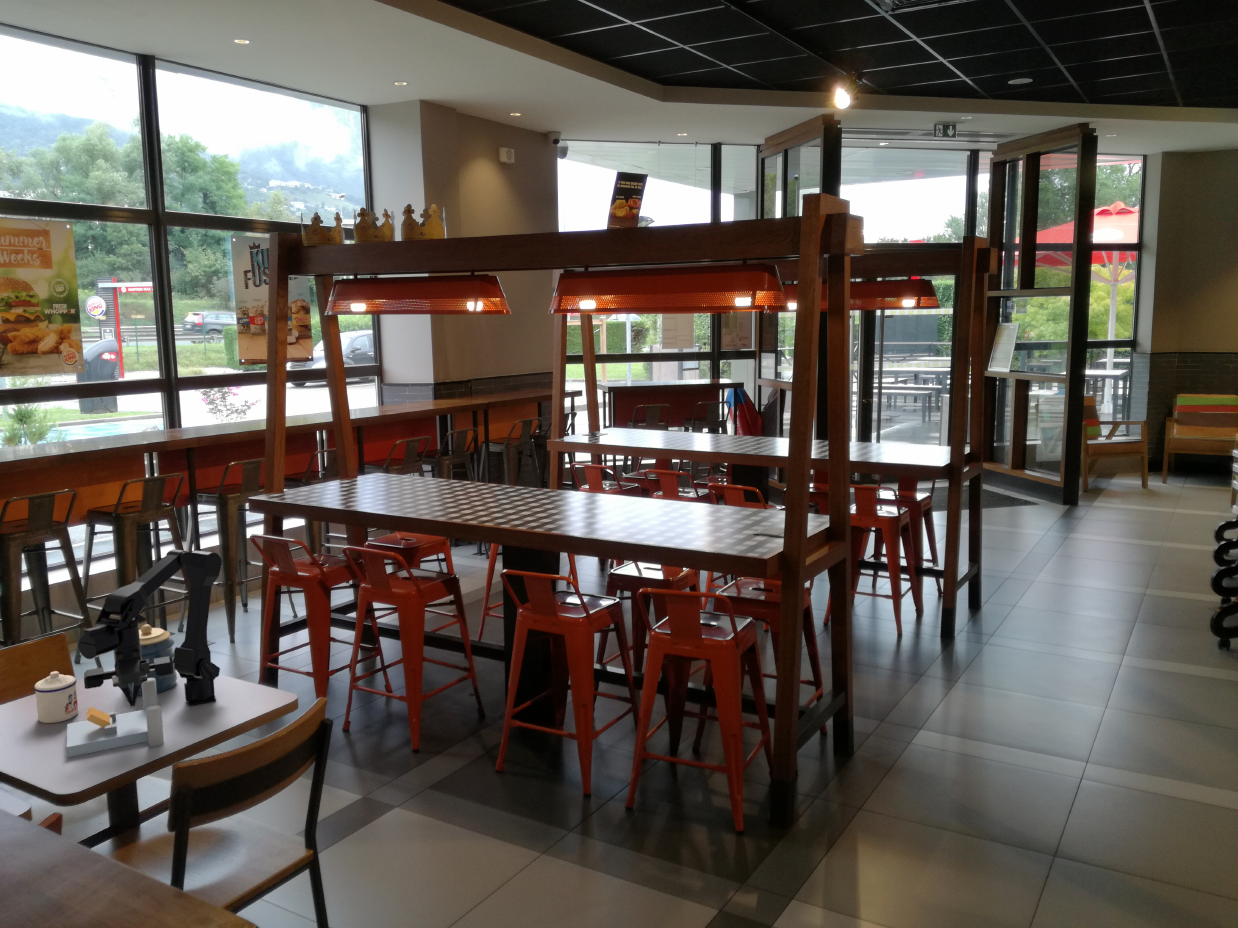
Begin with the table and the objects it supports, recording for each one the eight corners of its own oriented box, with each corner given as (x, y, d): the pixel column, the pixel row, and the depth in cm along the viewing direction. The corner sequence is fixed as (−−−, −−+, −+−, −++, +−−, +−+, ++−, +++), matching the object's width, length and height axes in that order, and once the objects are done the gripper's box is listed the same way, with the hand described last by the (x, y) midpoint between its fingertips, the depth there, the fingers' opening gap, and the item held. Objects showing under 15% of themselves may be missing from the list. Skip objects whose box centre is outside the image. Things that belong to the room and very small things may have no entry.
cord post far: (157, 710, 233) (155, 676, 231) (158, 714, 230) (156, 681, 229) (143, 712, 231) (141, 679, 230) (144, 717, 229) (141, 683, 227)
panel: (151, 717, 229) (150, 701, 228) (155, 739, 217) (154, 722, 216) (68, 733, 220) (66, 716, 219) (67, 757, 208) (65, 739, 207)
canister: (188, 681, 252) (183, 620, 249) (148, 699, 240) (143, 635, 237) (153, 674, 256) (148, 614, 253) (112, 692, 244) (107, 629, 241)
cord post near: (163, 739, 217) (160, 703, 215) (164, 744, 214) (161, 708, 212) (148, 742, 215) (145, 706, 214) (149, 748, 212) (146, 711, 211)
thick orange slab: (109, 715, 219) (90, 706, 217) (110, 722, 215) (91, 713, 213) (105, 720, 219) (86, 712, 217) (105, 728, 215) (86, 719, 213)
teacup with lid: (74, 721, 226) (69, 676, 224) (32, 726, 224) (27, 681, 222) (86, 702, 238) (82, 659, 236) (46, 706, 235) (42, 663, 233)
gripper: (80, 662, 206) (87, 727, 208) (172, 647, 215) (177, 709, 217) (81, 646, 215) (88, 708, 218) (169, 633, 224) (174, 692, 227)
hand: (132, 705), depth 220 cm, fingers closed
